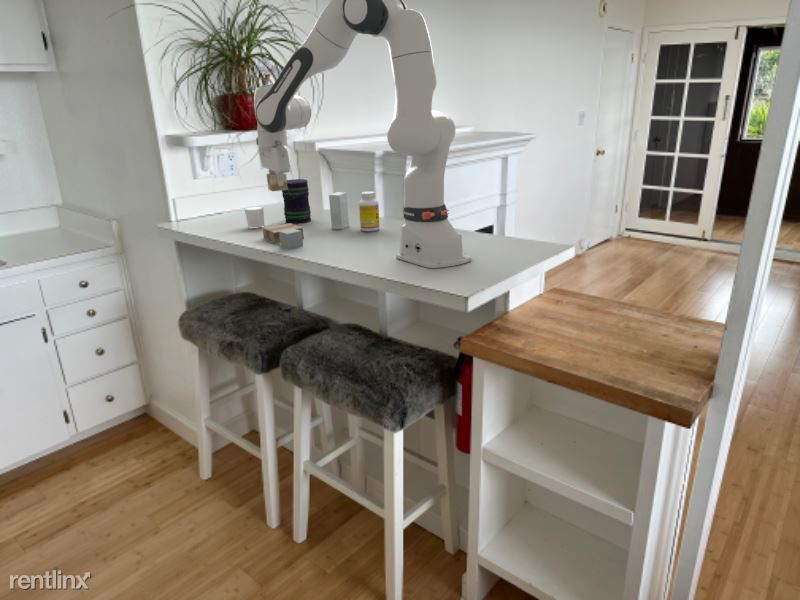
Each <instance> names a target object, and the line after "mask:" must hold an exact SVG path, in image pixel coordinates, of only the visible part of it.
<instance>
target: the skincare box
mask: <svg viewBox="0 0 800 600" xmlns="http://www.w3.org/2000/svg"><path fill="white" fill-rule="evenodd" d="M328 198H329V199H328V200H329V211H330V221H331V229H333V230H343V229H345V228H347V227H349V226H350V219H349V208H348V207H349V206H348V194H347V192H346V191H345V192H344V191H336V192H334V193H331V194H329V195H328Z"/></svg>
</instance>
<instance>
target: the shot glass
mask: <svg viewBox="0 0 800 600" xmlns="http://www.w3.org/2000/svg"><path fill="white" fill-rule="evenodd" d="M264 210H265V208H264V206H249V207H245V208H244V209H243V211H244V212H245V213H244V214H245V217H246V219H245V220H246V224H247V227H248V226H249V227H261V226H264V227H265V211H264ZM249 227H248V228H249Z"/></svg>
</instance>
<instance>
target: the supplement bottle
mask: <svg viewBox="0 0 800 600" xmlns="http://www.w3.org/2000/svg"><path fill="white" fill-rule="evenodd" d="M360 195H361V200H359V202H358V211H359V226H360V227H359V228H360V230H361V231H363V232H375V231H378V230H379V229H380V228H381V226H380V211H379V210H380V209H379V208H380V207H379V201H378V199H376V198H375V197H376V192H375V191H370V190H369V191H362V192H361V193H360Z"/></svg>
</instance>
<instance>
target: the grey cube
mask: <svg viewBox="0 0 800 600" xmlns="http://www.w3.org/2000/svg"><path fill="white" fill-rule="evenodd" d="M279 236H280V243H279V244H280V248H284V249H286V250H292V249H296V248H300V247H304V243H303V239H302V231H300V230H296V229H288V230H284V231H279Z"/></svg>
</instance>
